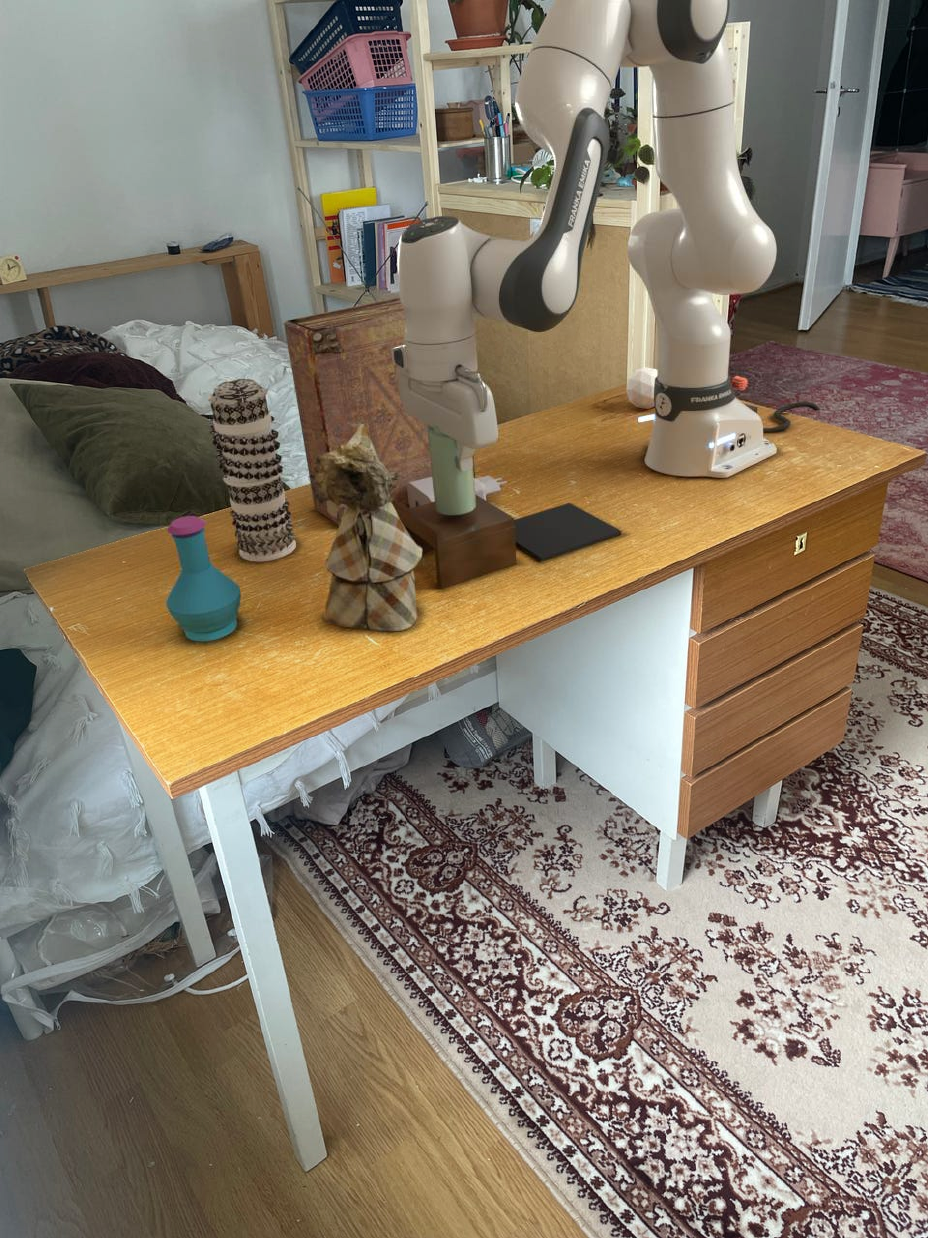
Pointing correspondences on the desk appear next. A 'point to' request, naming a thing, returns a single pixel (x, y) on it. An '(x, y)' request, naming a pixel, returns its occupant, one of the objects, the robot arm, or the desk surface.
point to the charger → (424, 491)
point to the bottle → (449, 476)
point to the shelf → (462, 539)
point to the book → (356, 391)
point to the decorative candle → (251, 470)
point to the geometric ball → (642, 387)
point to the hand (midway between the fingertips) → (451, 461)
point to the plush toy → (366, 541)
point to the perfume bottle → (200, 586)
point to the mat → (560, 531)
